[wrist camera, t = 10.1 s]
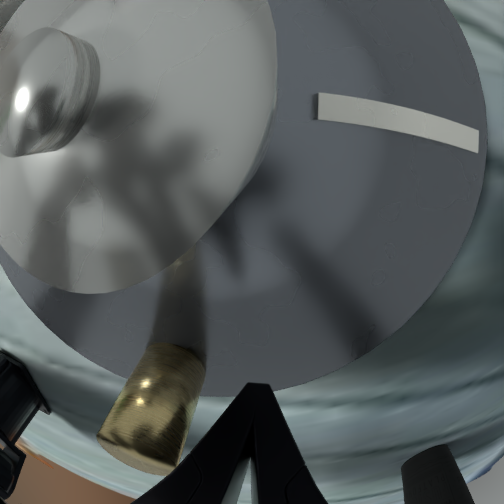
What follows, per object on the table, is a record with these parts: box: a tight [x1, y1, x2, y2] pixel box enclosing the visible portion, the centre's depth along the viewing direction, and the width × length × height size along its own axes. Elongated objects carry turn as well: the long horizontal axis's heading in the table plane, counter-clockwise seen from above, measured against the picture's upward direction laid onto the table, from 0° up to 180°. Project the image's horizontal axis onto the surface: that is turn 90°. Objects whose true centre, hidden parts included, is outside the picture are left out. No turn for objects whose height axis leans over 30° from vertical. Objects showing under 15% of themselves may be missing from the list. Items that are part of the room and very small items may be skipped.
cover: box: [0, 0, 278, 294], centre depth 4 cm, size 7×7×4 cm
